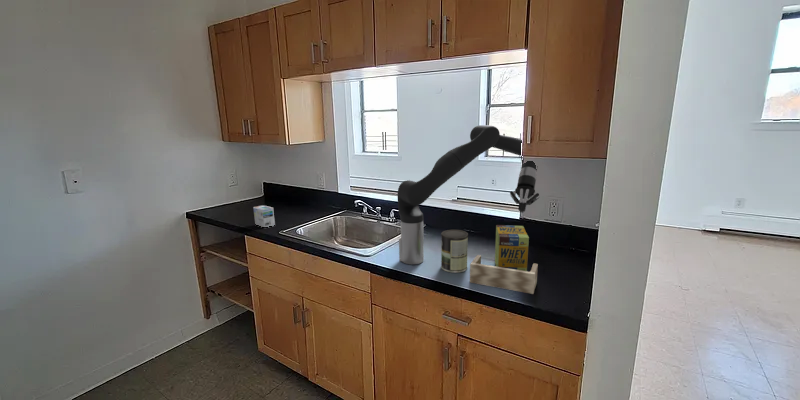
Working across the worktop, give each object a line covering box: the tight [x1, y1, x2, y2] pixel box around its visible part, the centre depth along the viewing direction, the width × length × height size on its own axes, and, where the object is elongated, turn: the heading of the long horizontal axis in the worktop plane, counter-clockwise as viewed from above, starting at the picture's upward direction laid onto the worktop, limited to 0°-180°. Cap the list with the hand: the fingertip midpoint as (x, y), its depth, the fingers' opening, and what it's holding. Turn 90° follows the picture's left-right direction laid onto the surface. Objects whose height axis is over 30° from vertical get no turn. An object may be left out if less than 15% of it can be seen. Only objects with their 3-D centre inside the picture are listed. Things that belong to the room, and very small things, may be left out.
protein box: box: [494, 224, 530, 271], centre depth 140 cm, size 10×15×16 cm
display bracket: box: [469, 254, 539, 295], centre depth 129 cm, size 22×10×7 cm, turn 64°
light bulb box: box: [252, 204, 276, 228], centre depth 206 cm, size 11×7×11 cm, turn 49°
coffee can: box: [440, 229, 469, 274], centre depth 142 cm, size 10×10×14 cm
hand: (521, 211), depth 158 cm, fingers closed
